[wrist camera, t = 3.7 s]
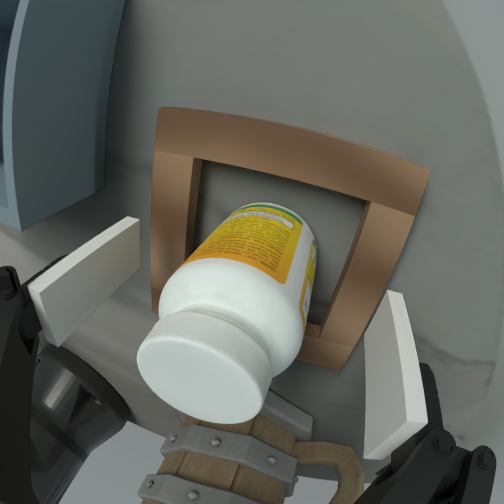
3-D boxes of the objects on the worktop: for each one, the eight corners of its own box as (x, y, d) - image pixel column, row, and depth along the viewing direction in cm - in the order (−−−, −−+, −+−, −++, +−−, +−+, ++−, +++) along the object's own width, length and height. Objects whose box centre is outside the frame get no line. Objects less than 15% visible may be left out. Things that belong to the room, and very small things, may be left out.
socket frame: (340, 357, 18) (340, 370, 17) (160, 301, 20) (152, 311, 19) (423, 166, 12) (430, 171, 11) (170, 106, 14) (158, 107, 13)
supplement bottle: (335, 265, 15) (322, 426, 7) (256, 301, 18) (195, 438, 10) (281, 179, 14) (201, 287, 6) (202, 229, 17) (92, 342, 8)
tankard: (202, 437, 29) (154, 539, 17) (169, 370, 24) (85, 507, 11) (375, 456, 24) (360, 577, 11) (406, 391, 18) (403, 577, 6)
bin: (104, 188, 17) (21, 231, 11) (6, 167, 19) (-52, 193, 13) (131, -21, 10) (46, -49, 4) (15, 23, 12) (-47, 27, 6)
